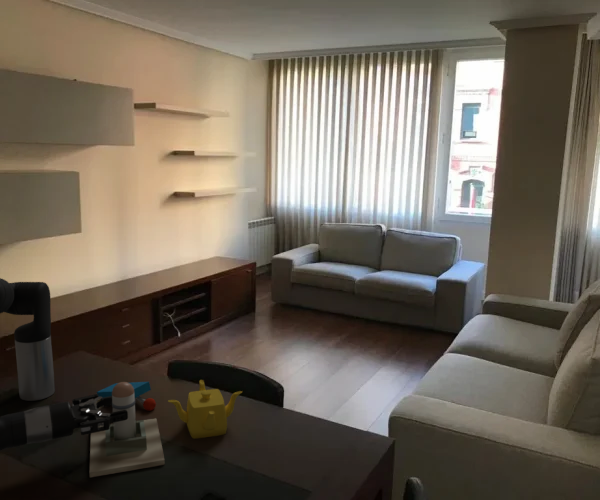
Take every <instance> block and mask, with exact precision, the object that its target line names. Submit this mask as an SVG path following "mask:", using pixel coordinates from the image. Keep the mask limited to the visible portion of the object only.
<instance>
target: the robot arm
mask: <svg viewBox="0 0 600 500" xmlns="http://www.w3.org/2000/svg"><path fill="white" fill-rule="evenodd" d="M51 311H52V310H51V291H50V287H49V285H48V283H46V282H44V281H14V282H9V281H8V280H6V279H3V278H1V277H0V314H3V313H6V314H10V315H14V316H33V318H32V319H33V320H32V321H30V322H27V323H24V324H22V325H19V326H18V327H16V328H15V329H14V333H13V335H14V346H15V347H14V348H15V357H16V369H17V370H16V371H17V381H18V393H19V399H21V400H22V401H29V402H34V401H40V400H44V399H46V398H49V397H51V396H52V395H53V394H55V391H56V390H55V389H56V388H55V373H54V361H53V360H54V359H53V348H52V347H53V346H52V334H51V332H52V331H51V328H52V327H51V326H52V317H51V315H52V313H51ZM71 401H72V403H70V402H69V400H68V401H67V400H66V401H63V402H57V403H51V404H48V405H41V406H38V407H33V408H31V409H27V410H23V411H19V412H13V413H8V414H5V415H1V416H0V451H3V450H6V449H11V448H15V447H20V446H24V445H29V444H38V443H43V442H48V441H53V440H56V439H60V438H66V437H70V436H72V435H73V433H74V430H75V429H80V434H81V435H82V436H85V435H91V433H95V432H100V431H105V430H109V429H110V428H109V426H110V425H111V424H113V423H114V422H119V421H123V420H127V419H128V412H127V410H122V411H117V412H113V411H112V412H110V413H108V412H102V411H101V410H100V409H102V408H107V407H112V396H109V397H104V398H102V397H98V394H97V393H95V394H94V393H93V394H90V395H85V396H81V397H77V398H74V399H73V398H72V399H71ZM71 404H72V406H71ZM100 426H103V427H100Z"/></svg>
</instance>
